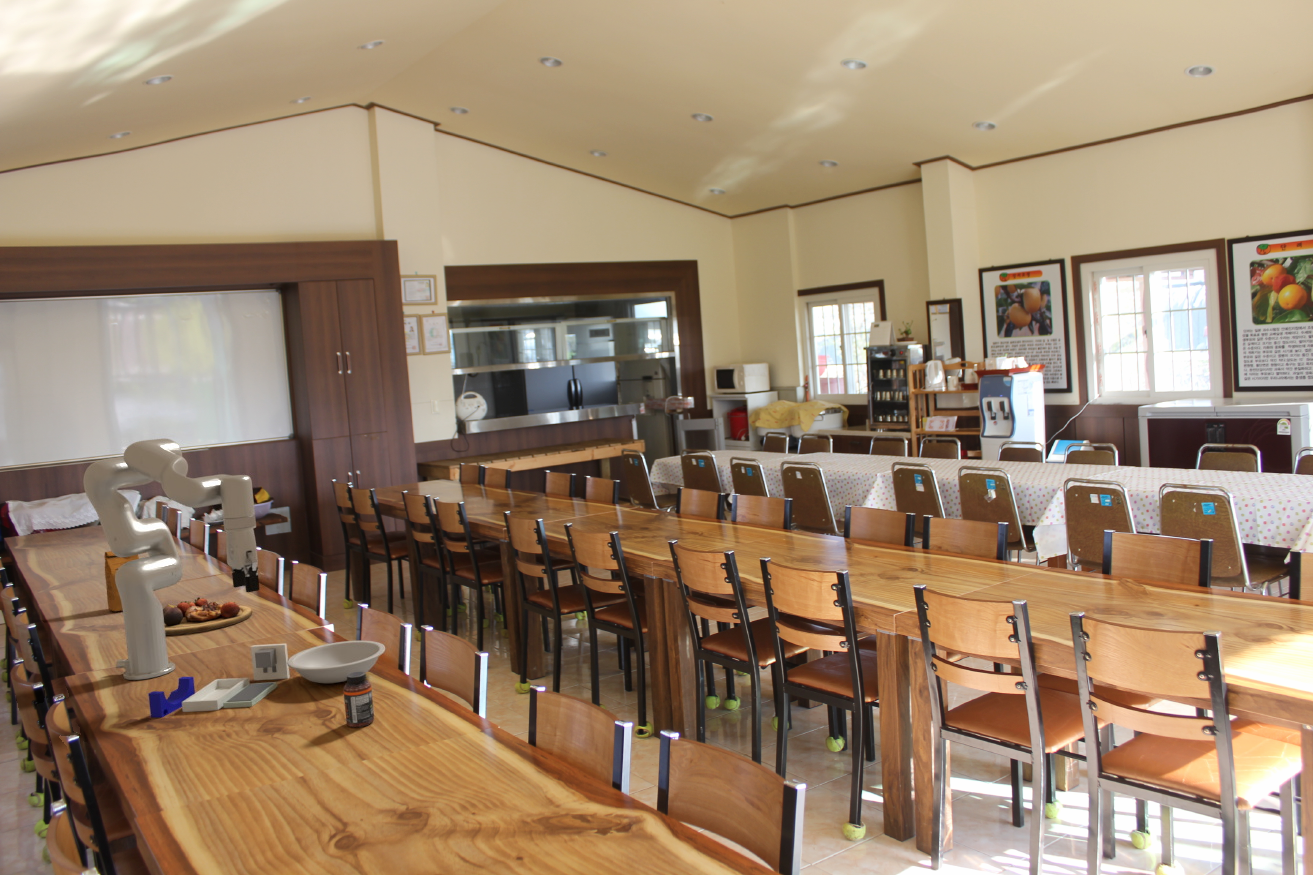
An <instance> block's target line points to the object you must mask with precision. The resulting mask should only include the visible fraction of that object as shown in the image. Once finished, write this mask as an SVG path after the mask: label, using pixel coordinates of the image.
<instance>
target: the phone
mask: <svg viewBox="0 0 1313 875" xmlns="http://www.w3.org/2000/svg"><path fill="white" fill-rule="evenodd" d="M276 688H278V682H277V681H273V682H260V683H259V682H256V683H250V684H249V685H247V686H246V687H245V688H243V689H242V690H240V691H239V692H238V693H236V694H235V695H234V696H232V697H231V698H229V699H228V700H227V701H225V702H224V703H223V707H222V708H223V709H229V708H233V709H234V708H249V707H251V708H252V707H253V706H255V705H256V704H257V703H260V701H261V700H262V699H263V698H266V696H267V695H269V694H271V692H273V691H274V690H276Z"/></svg>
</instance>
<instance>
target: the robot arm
mask: <svg viewBox="0 0 1313 875" xmlns="http://www.w3.org/2000/svg"><path fill="white" fill-rule="evenodd" d="M188 464H189V463H188V461H187V459H185V458H184V456H183V451H182V449H181V446H180V445H179V444H178V443H177V442H176V441H174V440H172V439H169V438H157V439H155V438H154V439H146V440H145V439H144V440H139V441H136V442H135V441H134V442H132V443H131V444H130V445H128V446H127V447H126V449H124V452H123V456H118V457H110V458H104V459H101V460H98V461H95V462H93V463H91V464H90V465H89V466H88V467H87V468H86V470H85V472H84V474H83V488H84V492H85V495H86V497H87V498H88V500H89V502H90V504H91V505H92V506H93V509H94V510H95V512H96V514H97V517H98V520H99V522H100V525H101V528H102V530H103V534H104V536H105V539H106V541H107V545H108V546H109V549H110V551H112V553H113V554H114V555H116V556H117V557H129V556H134V555H138V556H139V555H141V554H146V553H147V554H148V556H144V557H139V559H136V560H132V561H129V562H127V563H125V564H123V565H122V566H121V567H119V569H118V570H117V572H116V575H115V582H116V586H117V589H118V592H119V595H120V598H121V602H122V608H123V611H122V613H123V614H122V615H123V622H124V630H125V639H126V640H125V641H126V649H127V650H126V651H127V659H126V658H123V659H119V658H118V659H117V660H116V663H115V664H116V665H115V668H116V669H124V670H125V671H124V672H123V674H122V675H123V679H125V680H130V681H132V680H133V681H136V680H137V681H138V680H146V679H153V678H156V677H160V676H163V675H167V674H169V673H171V672H172V671H174V670H175V669H176V664H175V663H174V662H172V661H169V655H168V646H167V639H166V638H167V637H166V636H167V635H165V626H164V616H163V609H164V607H163V605H162V602H161V601H160V599H159V598H158V597H157V595H155V593H154V592H155V591H159V590H161V589H166V588H170V587H172V586H175V585H176V584H178V583H179V582H180V581H181V580H182V578H183V575H184V566H183V564H182V563H183V562H182V559H181V557H180V553H179V552H178V549H177V546H176V543H175V540H174V537H173V535H172V532H171V530H170V528H169V526H168V525H167V524H166V523H165V522H164V521H163V520H162V519H160V518H158V517H144V518H140V519H139V518H138V517H137V515H136V513H135V511H134V507H133V505H132V504H131V502H130V501H129V500H128V498H126V496H124V494H122V493H120V492H119V491H118V489H123V488H125V489H126V488H129V487H131V488H132V487H137V486H141V485H142V486H143V485H148V484H150V483H152V482H154V481H155V482H157V483H159V484H160V485H161V488H162V490H163V492H164V494H165V495H166V497H167V498H169V499H170V500H171V501H174V502H176V503H177V504H180V505H182V506H185V507H188V508H193V509H194V508H195V509H198V508H202V507H209V506H214V505H221V510H222V520H223V527H224V528H223V530H224V532H226V533H225V542H226V543H225V544H226V545H225V547H226V549H225V550H226V563H227V565H228V566H229V567H230V568H231V576H232V586H233V588H235V589H236V588H240V587H245V592H246V593H253V592H257V591H258V592H259V590H260V581H259V580H260V579H259V578H260V577H259V571H258V569H259V567H258V563H259V562H258V559H259V558H258V550H257V549H258V548H257V543H256V542H257V541H256V536H255V530H254V529H255V528H257V522H256V520H257V519H256V510H255V502H254V492H253V483H252V482H253V481H252V478H251V477H250V476H249V475H247V474H237V475H235V474H234V475H230V474H225V473H224V474H223V473H222V474H221V473H220V474H215V475H207V476H201V477H200V476H199V477H195V478H193V477H188V476H187V475H188V471H189V465H188Z"/></svg>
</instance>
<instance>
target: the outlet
mask: <svg viewBox="0 0 1313 875" xmlns="http://www.w3.org/2000/svg"><path fill="white" fill-rule="evenodd" d="M250 653H251V663H252V674H253V675H252V676H253V681H264V680H267V681H268V680H285V679H286V680H287V679H289V678H291V676H290V667H289V666H288V664H287V662H288V659H289V657H288V656H289V655H288V645H287V643H272V644H271V643H270V644H269V643H268V644H255V645H251V646H250Z"/></svg>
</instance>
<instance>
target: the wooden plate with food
mask: <svg viewBox="0 0 1313 875" xmlns="http://www.w3.org/2000/svg"><path fill="white" fill-rule="evenodd" d="M196 598H197V599H194V601H186V600H185V601H181V602H179V603H178V604H176V606H175V605H171V604H170V603H168V604H167V605H166V606H164V607H163V616H164V626H165V636H177V635H186V634H193V633H201V632H207V631H211V630H215V629H220V628H224V627H225V628H226V627H229V626H232V625H235V624H238V623H240V622H243V621H245V620H248V619H249V618H250V617H251V616H252V615H253V610H252V608H251V607H249V606H245V605H238V603H236V602H233V601H228V602H225V603H217V602H216V601H212V602H211V601H210V602H208V600H207V598H205V597H202V598H200V596H198V597H196Z"/></svg>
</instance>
